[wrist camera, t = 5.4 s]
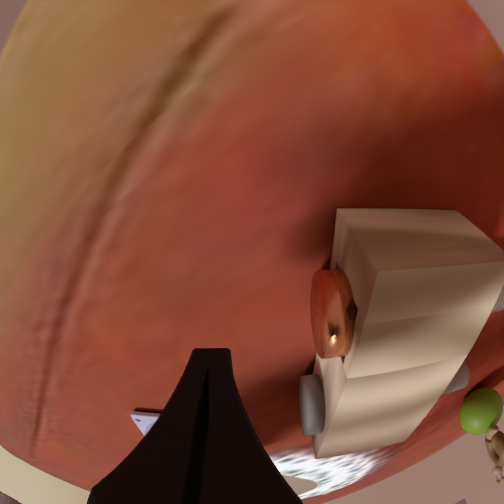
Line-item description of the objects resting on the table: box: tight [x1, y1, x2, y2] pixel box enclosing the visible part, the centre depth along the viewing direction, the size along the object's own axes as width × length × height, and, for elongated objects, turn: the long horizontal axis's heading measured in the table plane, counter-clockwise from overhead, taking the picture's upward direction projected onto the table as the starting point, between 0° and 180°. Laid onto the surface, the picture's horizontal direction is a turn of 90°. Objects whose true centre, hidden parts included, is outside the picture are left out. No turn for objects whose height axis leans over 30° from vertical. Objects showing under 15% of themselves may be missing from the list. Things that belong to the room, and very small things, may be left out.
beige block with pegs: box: [298, 208, 504, 459], centre depth 16 cm, size 16×12×5 cm
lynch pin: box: [311, 269, 504, 359], centre depth 14 cm, size 4×13×4 cm, turn 91°
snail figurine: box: [459, 387, 504, 484], centre depth 20 cm, size 5×6×12 cm
